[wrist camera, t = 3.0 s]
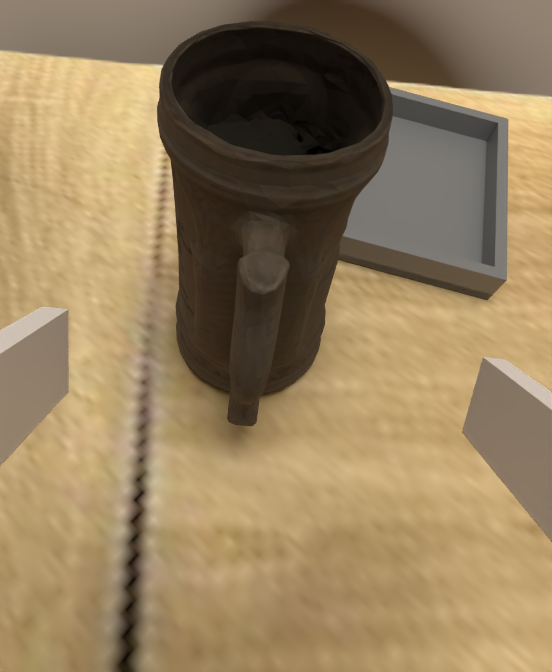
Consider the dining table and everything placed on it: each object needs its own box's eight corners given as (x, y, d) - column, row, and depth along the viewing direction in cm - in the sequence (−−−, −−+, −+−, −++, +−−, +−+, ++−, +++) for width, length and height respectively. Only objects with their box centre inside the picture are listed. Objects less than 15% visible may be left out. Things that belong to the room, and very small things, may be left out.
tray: (305, 250, 40) (311, 227, 38) (344, 103, 50) (352, 77, 47) (487, 299, 40) (506, 280, 37) (492, 143, 49) (508, 119, 47)
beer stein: (175, 268, 38) (142, -2, 20) (306, 265, 40) (381, 13, 22) (180, 461, 31) (135, 310, 13) (337, 447, 33) (482, 296, 15)
